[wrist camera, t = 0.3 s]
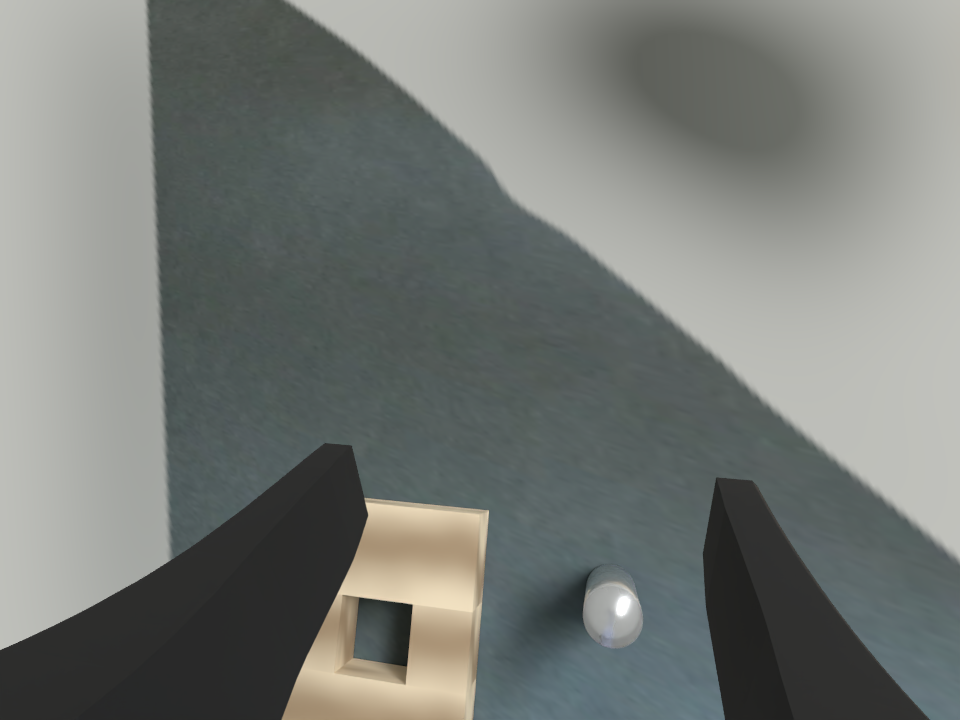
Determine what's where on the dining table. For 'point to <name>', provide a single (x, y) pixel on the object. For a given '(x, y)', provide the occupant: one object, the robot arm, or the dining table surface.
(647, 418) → the dining table surface
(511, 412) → the dining table surface
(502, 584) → the dining table surface
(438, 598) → the hole block
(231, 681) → the robot arm
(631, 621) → the long pin
